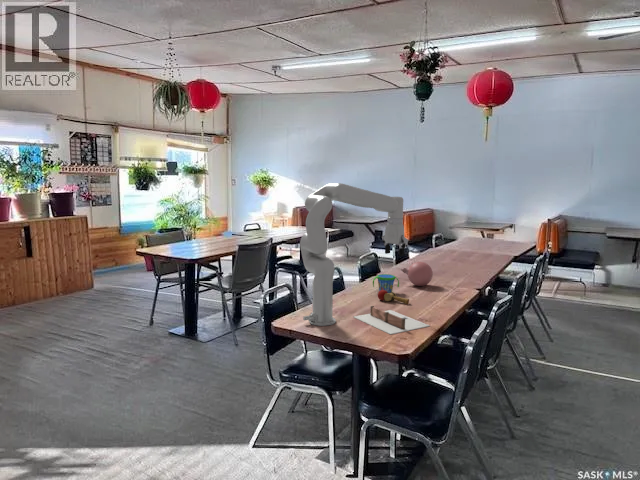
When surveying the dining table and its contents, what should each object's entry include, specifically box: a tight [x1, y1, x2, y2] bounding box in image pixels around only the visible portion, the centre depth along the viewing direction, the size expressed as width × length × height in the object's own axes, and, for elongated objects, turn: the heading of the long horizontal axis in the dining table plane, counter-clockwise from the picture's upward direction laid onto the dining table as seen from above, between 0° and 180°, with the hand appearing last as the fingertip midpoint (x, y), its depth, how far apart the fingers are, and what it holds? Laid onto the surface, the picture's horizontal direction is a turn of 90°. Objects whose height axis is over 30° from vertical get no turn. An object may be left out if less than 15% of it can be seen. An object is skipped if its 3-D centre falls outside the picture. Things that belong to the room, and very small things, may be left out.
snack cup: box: [372, 273, 400, 293], centre depth 280 cm, size 16×10×10 cm
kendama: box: [377, 290, 410, 305], centre depth 261 cm, size 8×6×18 cm
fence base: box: [385, 312, 405, 329], centre depth 219 cm, size 2×13×5 cm, turn 30°
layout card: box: [353, 309, 430, 335], centre depth 226 cm, size 23×29×1 cm
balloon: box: [400, 261, 433, 287], centre depth 298 cm, size 15×20×15 cm
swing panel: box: [369, 305, 386, 321], centre depth 230 cm, size 11×2×4 cm, turn 30°
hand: (394, 254), depth 241 cm, fingers open, 9 cm apart
